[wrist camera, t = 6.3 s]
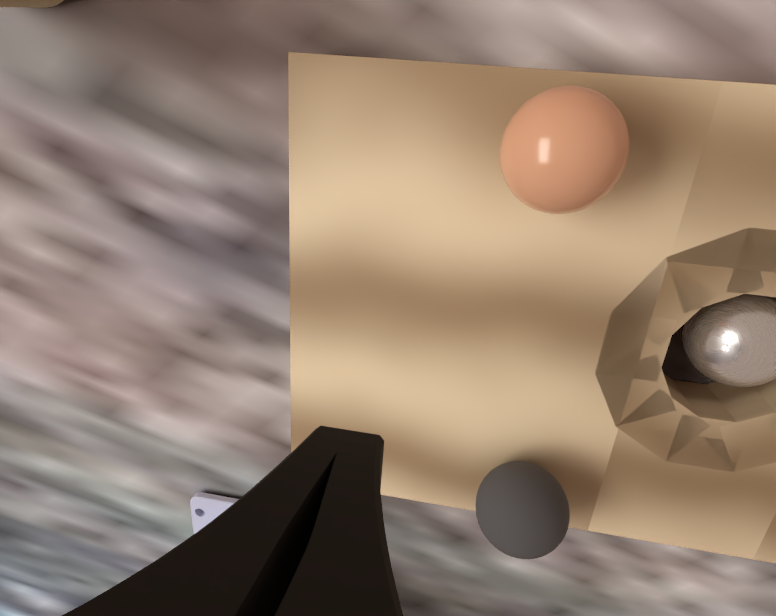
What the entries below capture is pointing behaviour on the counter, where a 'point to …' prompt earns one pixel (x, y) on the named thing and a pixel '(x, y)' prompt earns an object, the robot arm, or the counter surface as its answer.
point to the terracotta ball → (564, 149)
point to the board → (532, 294)
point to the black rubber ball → (522, 509)
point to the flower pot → (29, 3)
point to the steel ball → (734, 340)
